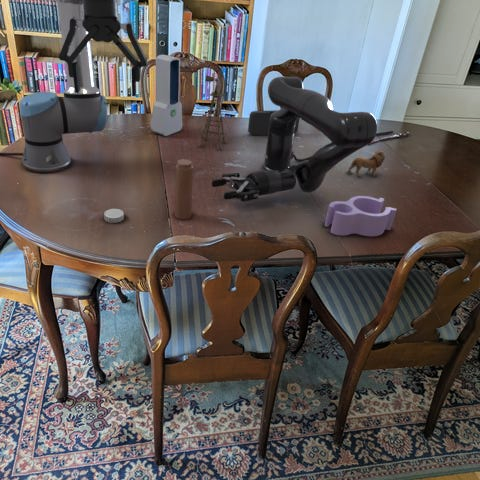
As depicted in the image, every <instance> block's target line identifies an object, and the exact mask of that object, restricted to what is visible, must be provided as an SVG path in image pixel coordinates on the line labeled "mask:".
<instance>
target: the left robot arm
mask: <svg viewBox="0 0 480 480" xmlns="http://www.w3.org/2000/svg"><path fill="white" fill-rule="evenodd" d="M54 2H56V5H57V11H58V19H59V27H60V28H59V29H60V35H61V43H62V46H61V47H62V48H61V49H60V52H59V55H58V60H60V61H63V62H64V66H65V67H64V68H65V75H66V82H67V86H66V88H65V89H64V90H63V97H59V96H58V94H57V93H55V92H52V91H39V92H34V93H30V94H27V95H25V96H23V97H22V98H21V99H20V100H19V103H18V104H19V116H20V118H21V123H22V124H21V125H22V130H23V131H22V132H23V137H24V148H23V152H0V156H8V157H9V156H11V157H12V156H16V157H17V156H22V158H21V159H22V160H21V161H22V166H23V168H24V169H25V170H27V171H29V172H33V173H39V174H46V173H56V172H61V171H63V170H66V169H67V168H69V167H70V166H71V163H72V159H71V155H70V153H69V151H68V150H67V149H68V148H67V147H66V145H65V143H64V140H63V135H68V134H69V135H70V134H83V133H90V134H91V133H96V132H102V131H104V130H105V128H106V126H107V123H108V105H107V103H108V102H107V101H108V100H107V98H106V97H105V96H104V95H102V93H101V90H100V89H99V88H98V86H97V85H96V81H95V72H94V63H93V52H92V43H91V40H93V41H95V43H100V42H103V43H111V42H113V43H114V45H115V46H116V47H117V48H118V49H119V50H120V52H121V53H122V54H123V55H124V56H125V58H126V59H127V60H128V62H130V64H131V65H132V66H131V69H130V74H131V96H132V97H136V95H137V83H139V82H140V81H141V68H144V67H147V65H148V63H149V62H148V58H147V57H146V55H145V53H144V51H143V48H142V47H141V45H140V42H139V40H138V38H137V36H136V34H135V32H134V24H133V22H131V21H128V22H123V23H122V22H120V20H119V3H118V0H54ZM121 30H123V32H124V33H125V34H127V37H128V39H129V42H130V44H131V45H132V47H133V49H134V51H135V53H136V56H137V57H138V58H137V57H136V56H135V55H134V53H133V52H132V50H130V49H129V47H128V46H127V45H126V43H125V42H124V41H123V40H122V38H121V36H120V35H119V32H120V31H121Z"/></svg>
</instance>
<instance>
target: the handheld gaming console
mask: <svg viewBox="0 0 480 480" xmlns="http://www.w3.org/2000/svg"><path fill="white" fill-rule="evenodd" d="M278 110H279V109H278ZM278 110H252V111H251V112H250V113H249V116H248V126H247V127H248V128H247V132H248V133H249V135H252V136H264V135H265V136H268V131H269V123H270V116H271V114H272V113H274V112H276V111H278ZM300 119H301V118H299V117H298V119H297V121H296V125H295V131H294V134H296V133H297V132H298V131H299V122H300Z"/></svg>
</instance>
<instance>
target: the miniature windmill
mask: <svg viewBox="0 0 480 480" xmlns="http://www.w3.org/2000/svg"><path fill="white" fill-rule="evenodd" d="M219 72H220V73H219V75H217V78H214V77H213V76H210V75H205V83H207V82H208V83H212V82H215V88H214V91H211V93H210V94H209V96H211V97H212V99H211V101H210V103H211V104H210V106H209V110H208V113H207V118H206V122H205V124H204V129H203V131H202V132H203V133H202V136H201V141H200V145H199V147H202V146H203V143H204V139H205V140H206V141H208V140H213V141H218V150H222V149H221V141H222V143H223V144H225V143H226V140H225V139H226V138H225V136H226V134H225V132H224V131H225V130H224V121H223V115H222V107H221V100H220V98H221V97H223V96H224V95H225V93H223V92H221V89H222V86H223V84H222V83H223V77H224V75H223V70H222V67H220V69H219ZM214 104H216V109H213V108H214ZM214 112H217V113H214ZM212 115H216V116H217V120H215V119H212ZM211 122H216V123H217V125H216V124H211ZM210 127H216V128H217V132H216V131H211V130H209V129H210ZM220 128H221V131H220ZM209 133H211V134H217V138H213V137H208V136H209Z"/></svg>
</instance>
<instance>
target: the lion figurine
mask: <svg viewBox="0 0 480 480" xmlns="http://www.w3.org/2000/svg"><path fill="white" fill-rule="evenodd" d="M385 154H386V153H385V152H384V151H383V150H377V151H375V153H374V155H372V156H371V157H370V158H364V157H361V156H360V157H355V158H354V160H353V161H352V162H351V164H350V166H349V167H348V170H347V173H346V175H349V174H352V171H351V170H352V169H354V168H355V174H356V176H357V177H359V178H360V177H362V176H361V174H360V173H359V172H360V171H361V169H362V168H364V169H367V172H366V173H367V174H371V177H376V174H375V173H376V171H377V169H378V168H380V167H381V166H382V165H383V163H384V161H385V159H386V155H385Z"/></svg>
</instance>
